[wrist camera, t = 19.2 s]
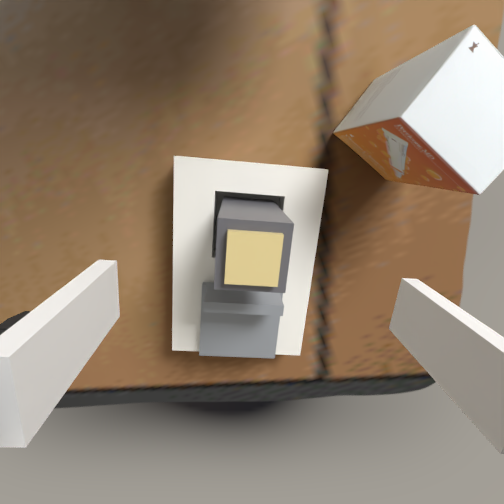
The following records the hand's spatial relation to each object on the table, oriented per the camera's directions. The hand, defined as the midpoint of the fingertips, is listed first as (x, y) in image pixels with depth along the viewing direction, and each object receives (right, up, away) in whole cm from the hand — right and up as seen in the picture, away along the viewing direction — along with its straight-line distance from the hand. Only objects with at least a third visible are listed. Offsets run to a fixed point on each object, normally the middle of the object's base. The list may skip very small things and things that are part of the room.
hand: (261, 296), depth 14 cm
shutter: (-2, -5, +17) cm, 18 cm away
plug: (-1, +5, +18) cm, 19 cm away
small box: (+13, +14, +17) cm, 26 cm away
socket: (-1, +2, +20) cm, 20 cm away
